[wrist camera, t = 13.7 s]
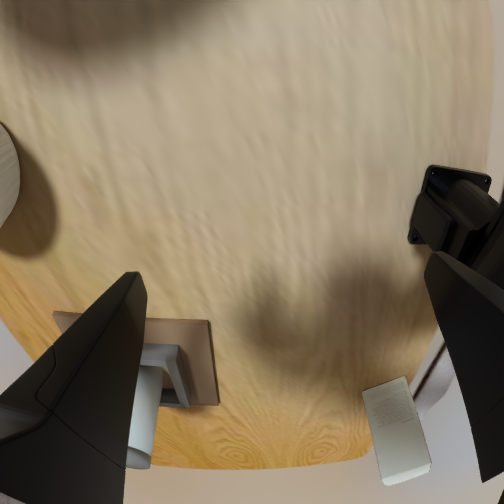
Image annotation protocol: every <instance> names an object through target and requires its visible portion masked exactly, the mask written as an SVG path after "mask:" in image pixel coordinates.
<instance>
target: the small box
mask: <svg viewBox="0 0 504 504" xmlns="http://www.w3.org/2000/svg"><path fill="white" fill-rule="evenodd" d="M362 396H363V400H364V404H365V408H366V412H367V417H368V421H369V425H370V430H371V435H372V439H373V443H374V448H375V453H376V457H377V462H378V467H379V472H380V477H381V480H382V482H383V483H384V484H385V485H386V486H390V485H394V484H397V483H400V482H403V481H406V480H409V479H412V478H415V477H417V476H420V475H422V474H425V473H427V472H429V471H430V467H431V458H430V455H429V451H428V447H427V444H426V440H425V437H424V434H423V430H422V427H421V423H420V420H419V417H418V414H417V411H416V407H415V404H414V401H413V398H412V395H411V392H410V389H409V386H408V382H407V379H406V377H405V376H402V377H400V378H397V379H395V380H392V381H389V382H387V383H384V384H381V385H379V386H376V387H373V388H370V389H367V390H365V391H362Z"/></svg>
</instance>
